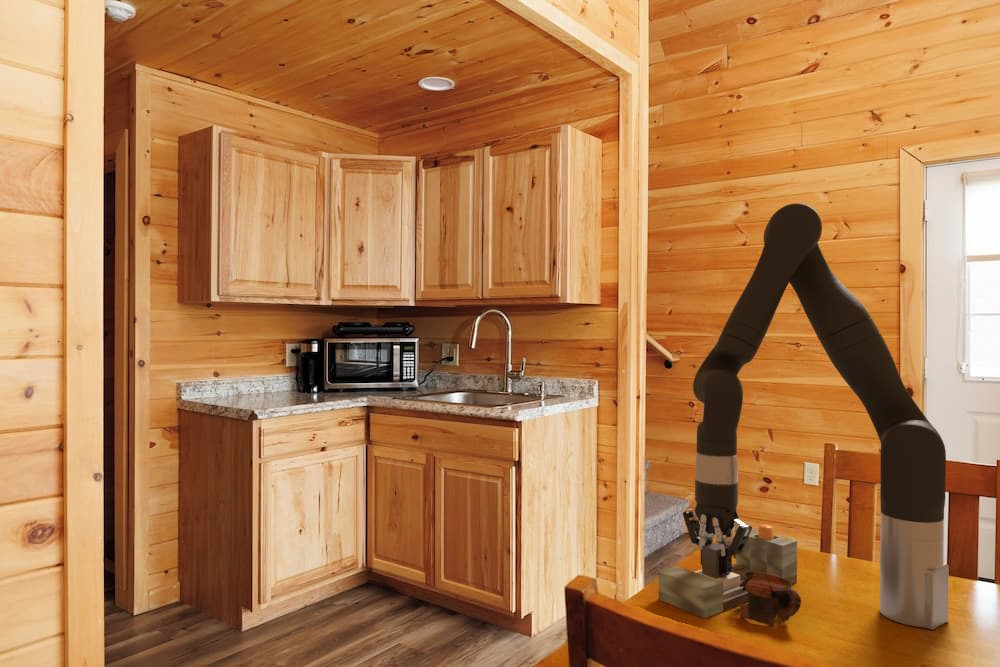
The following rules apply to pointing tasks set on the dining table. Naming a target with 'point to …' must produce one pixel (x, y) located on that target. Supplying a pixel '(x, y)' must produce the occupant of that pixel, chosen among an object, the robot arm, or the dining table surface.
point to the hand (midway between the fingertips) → (715, 571)
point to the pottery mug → (768, 598)
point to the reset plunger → (766, 532)
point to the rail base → (756, 557)
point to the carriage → (716, 567)
